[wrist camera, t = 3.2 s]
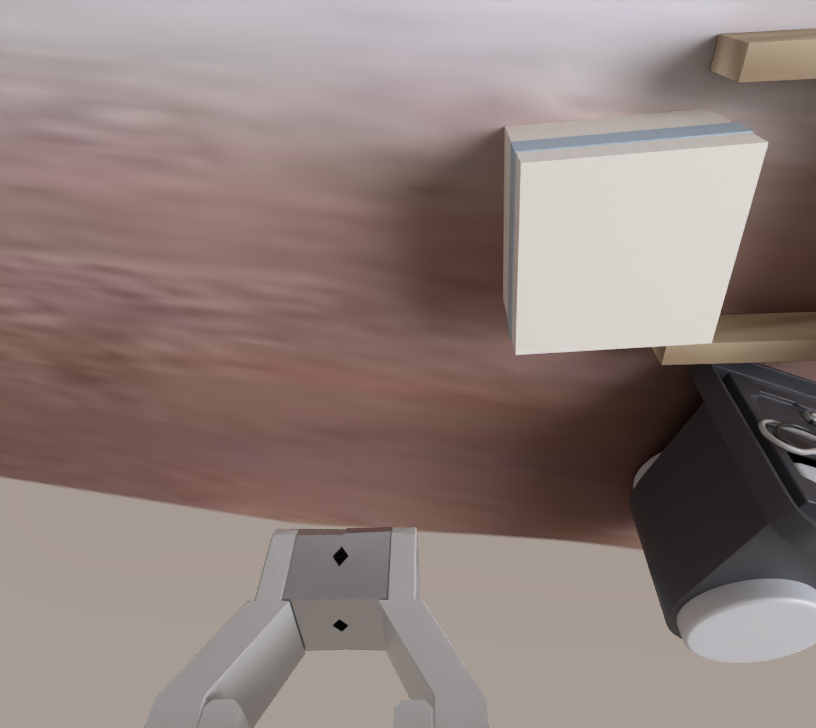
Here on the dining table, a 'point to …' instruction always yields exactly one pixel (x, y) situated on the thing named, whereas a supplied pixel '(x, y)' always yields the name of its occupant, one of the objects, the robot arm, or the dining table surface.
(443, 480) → the dining table surface
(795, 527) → the light fixture
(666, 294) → the carton
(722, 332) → the stand
